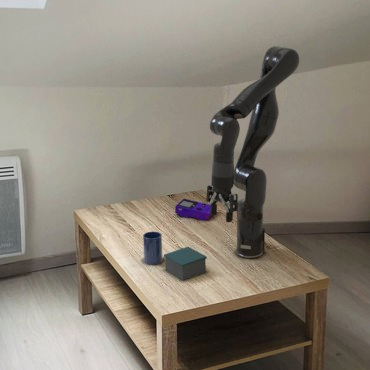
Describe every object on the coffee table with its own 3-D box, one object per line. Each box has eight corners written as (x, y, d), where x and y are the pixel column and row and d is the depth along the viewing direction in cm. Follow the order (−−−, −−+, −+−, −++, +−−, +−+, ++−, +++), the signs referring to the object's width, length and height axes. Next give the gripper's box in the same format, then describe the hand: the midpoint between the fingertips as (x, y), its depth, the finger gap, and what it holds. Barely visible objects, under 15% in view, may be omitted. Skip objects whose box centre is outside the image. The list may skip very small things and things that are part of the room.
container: (188, 261, 249) (188, 246, 247) (206, 272, 241) (206, 256, 239) (164, 270, 244) (163, 254, 242) (182, 281, 236) (182, 265, 234)
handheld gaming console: (209, 213, 283) (175, 204, 289) (208, 224, 285) (174, 216, 291) (217, 205, 291) (184, 197, 297) (215, 216, 293) (183, 208, 299)
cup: (155, 255, 256) (154, 230, 253) (166, 261, 251) (165, 235, 247) (140, 259, 252) (139, 234, 249) (150, 266, 247) (149, 240, 244)
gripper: (244, 176, 233) (242, 222, 237) (218, 167, 244) (216, 210, 249) (227, 180, 229) (225, 226, 234) (201, 170, 240) (200, 214, 245)
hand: (221, 218), depth 241 cm, fingers open, 8 cm apart
